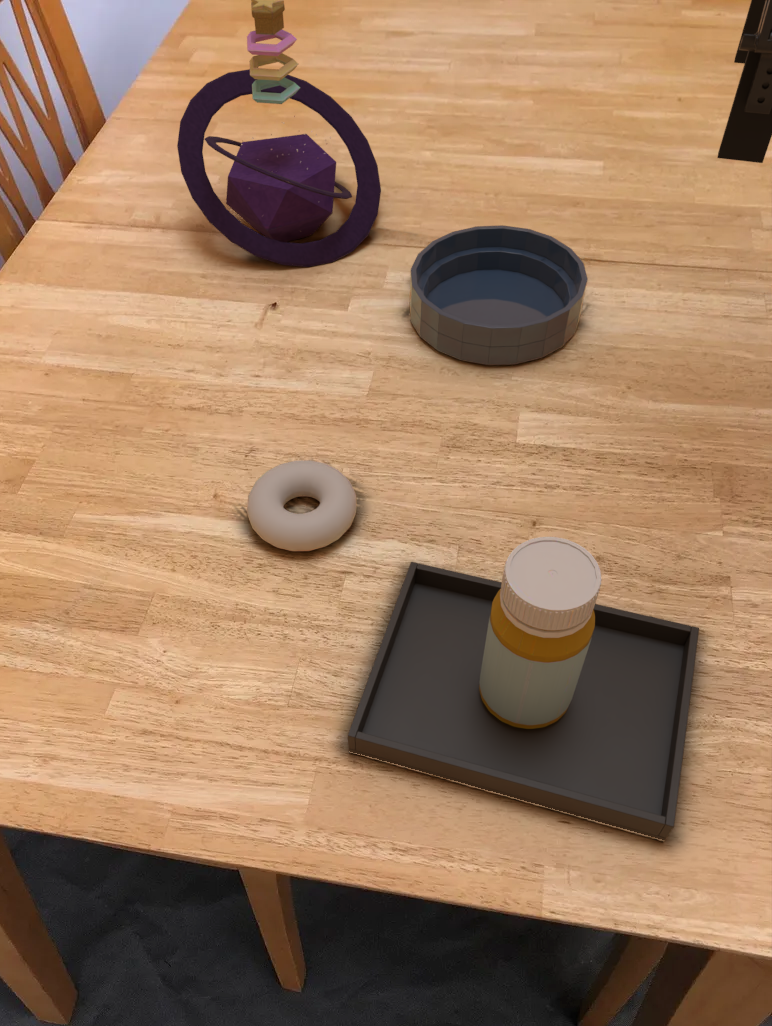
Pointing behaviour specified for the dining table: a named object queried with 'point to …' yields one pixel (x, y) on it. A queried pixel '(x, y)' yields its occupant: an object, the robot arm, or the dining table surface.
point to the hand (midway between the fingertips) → (747, 107)
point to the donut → (304, 527)
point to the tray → (541, 751)
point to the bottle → (539, 631)
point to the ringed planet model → (278, 160)
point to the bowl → (496, 294)
